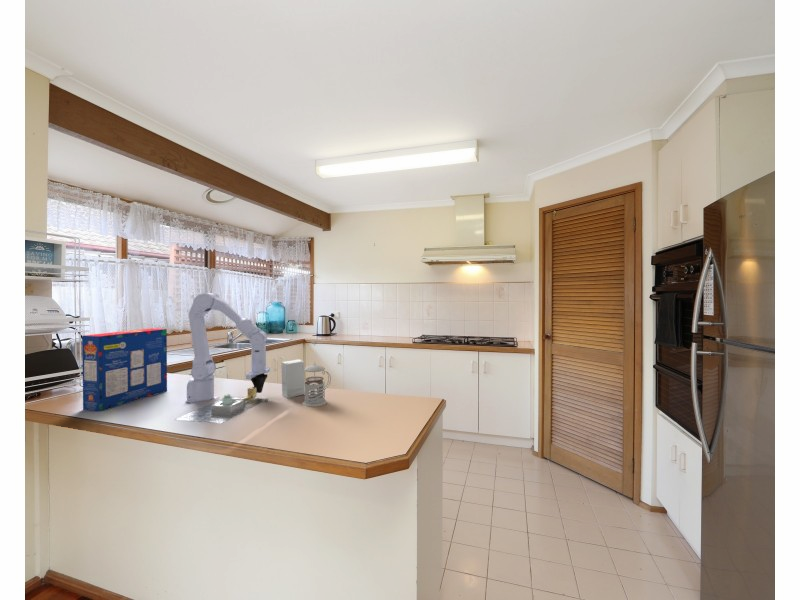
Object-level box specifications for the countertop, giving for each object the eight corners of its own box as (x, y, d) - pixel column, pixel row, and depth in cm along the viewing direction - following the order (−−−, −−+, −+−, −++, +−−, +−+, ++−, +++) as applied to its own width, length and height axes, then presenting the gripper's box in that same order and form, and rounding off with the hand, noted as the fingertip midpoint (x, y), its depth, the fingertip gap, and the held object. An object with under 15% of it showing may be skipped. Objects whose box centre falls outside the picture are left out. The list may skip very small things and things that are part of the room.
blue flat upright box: (152, 389, 156) (152, 328, 155) (167, 391, 154) (166, 328, 153) (83, 410, 128) (82, 335, 128) (99, 411, 126) (98, 336, 126)
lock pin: (235, 404, 131) (235, 393, 131) (251, 396, 141) (251, 386, 141) (240, 404, 130) (240, 394, 130) (256, 396, 140) (256, 387, 140)
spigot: (220, 412, 124) (220, 396, 123) (227, 408, 127) (226, 393, 126) (228, 413, 123) (227, 397, 123) (234, 409, 126) (234, 394, 126)
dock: (174, 422, 116) (174, 410, 116) (228, 398, 143) (228, 389, 143) (221, 426, 113) (221, 414, 113) (267, 401, 140) (267, 391, 140)
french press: (298, 401, 139) (298, 340, 139) (324, 396, 146) (325, 338, 146) (307, 408, 132) (307, 343, 131) (335, 402, 138) (335, 340, 138)
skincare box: (299, 391, 153) (299, 358, 153) (305, 395, 149) (305, 360, 148) (280, 395, 148) (280, 361, 148) (286, 398, 143) (286, 363, 143)
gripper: (257, 363, 136) (257, 398, 136) (276, 357, 150) (276, 388, 150) (241, 363, 137) (241, 397, 137) (262, 356, 151) (262, 387, 152)
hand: (258, 392), depth 144 cm, fingers closed
